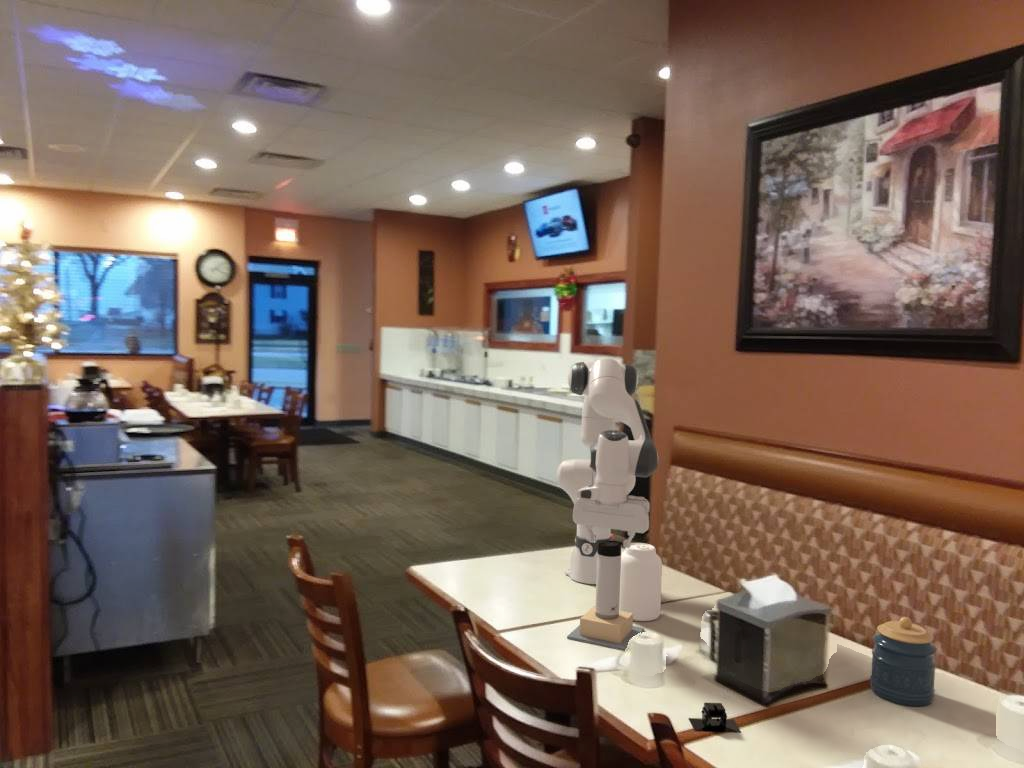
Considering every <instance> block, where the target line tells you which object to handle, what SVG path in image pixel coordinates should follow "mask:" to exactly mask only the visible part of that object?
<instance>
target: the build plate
mask: <svg viewBox="0 0 1024 768" xmlns="http://www.w3.org/2000/svg"><path fill="white" fill-rule="evenodd" d="M727 715H728V714H727V712H726V709H725V707H724V705H723V703H722V702H703V706H702V710H701V716H702V717H700V718H699V717H696V718H695V717H693V718H691V717H689V718H688V720H689V723H690V725H691V727H692V729H693V731H694V732H699V733H700V732H703V733H705V732H707V733H733V734H734V733H735V734H737V733H738V734H739V733H740V734H742V730H741V729H740V727H739V726H738V724H737V722H736V721H735V719H734V718H728V716H727Z"/></svg>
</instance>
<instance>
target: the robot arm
mask: <svg viewBox="0 0 1024 768" xmlns="http://www.w3.org/2000/svg"><path fill="white" fill-rule="evenodd" d="M567 383H568V387H569V390H570V391H571V392H572V394H575V395H577V396H582V395H583V396H584V399H583V403H582V412H581V426H580V429H581V430H580V441H582V443H583V445H584V446H585V447H587V448H588V449H589V452H590V455H589V457H590V458H589V459H581V458H573V459H572V458H571V459H567V460H563V461H562V462H560V464H559V465H558V467H557V470H556V481H557V483H558V485H559V487H560V488H561V489H562V490H563V491H564V492H565V493H566V494H567V495H568V496H569V498H570V499H571V501H572V503H573V508H572V509H573V510H572V521H573V522H574V524H576V534H575V538H574V545H575V546H574V548H572V549H571V550H570V554H569V557H570V558H569V565H568V567H569V569H566V570H565V571H564V574H565V575H566V576H568V577H570V578H571V580H573V581H575V582H577V583H581V584H586V585H596V579H597V556H598V555H597V553H598V544H599V543H600V542H603V541H614V537H615V535H614V534H613V533H611V532H612V530H616V531H617V530H618V531H621V532H622V531H624V532H627V536H628V538H627V539H624V540H623V541H622V542H623V548H624V549H625V548H630V546H631V543H632V539H633V538H634V537H635V535H636V533H638V534H644V533H645V532H647V531H648V530H649V528H650V519H649V518H650V516H649V513H650V508H651V504H650V503H651V502H650V501H649V500H648V499H646V498H645V496H636V495H631V494H630V493H631V491H633V489H634V487H635V486H636V481H637V480H636V477H638V478H648V477H650V476H651V475H652V474H654V473H655V472H656V471H657V470H658V466H659V465H658V464H659V455H658V451H657V447H656V445H655V443H654V442H653V439H652V437H651V434H650V431H649V427H648V425H647V421H646V418H645V416H644V413H643V410H642V408H641V405H640V403H639V402H638V401H637V399H635V398H633V397H632V396H633V394H635V393H636V391H637V390H636V389H637V388H638V385H639V376H638V373H637V369H636V367H635V365H632V364H628V363H620V362H618V361H617V360H615V359H614V358H612V357H602V358H600V359H599V358H598V359H597V360H596V361H595V362H593V361H592V362H585V361H580V362H576V363H574V364H573V365H572V366H571V368H570V369H569V371H568V375H567ZM616 422H621V423H623V424H625V425H626V426H628V427H629V428H630V431H631V433H632V436H633V440H630V439H629V437H628V435H627V434H626V433H625V432H624V431H621V430H616Z"/></svg>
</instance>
